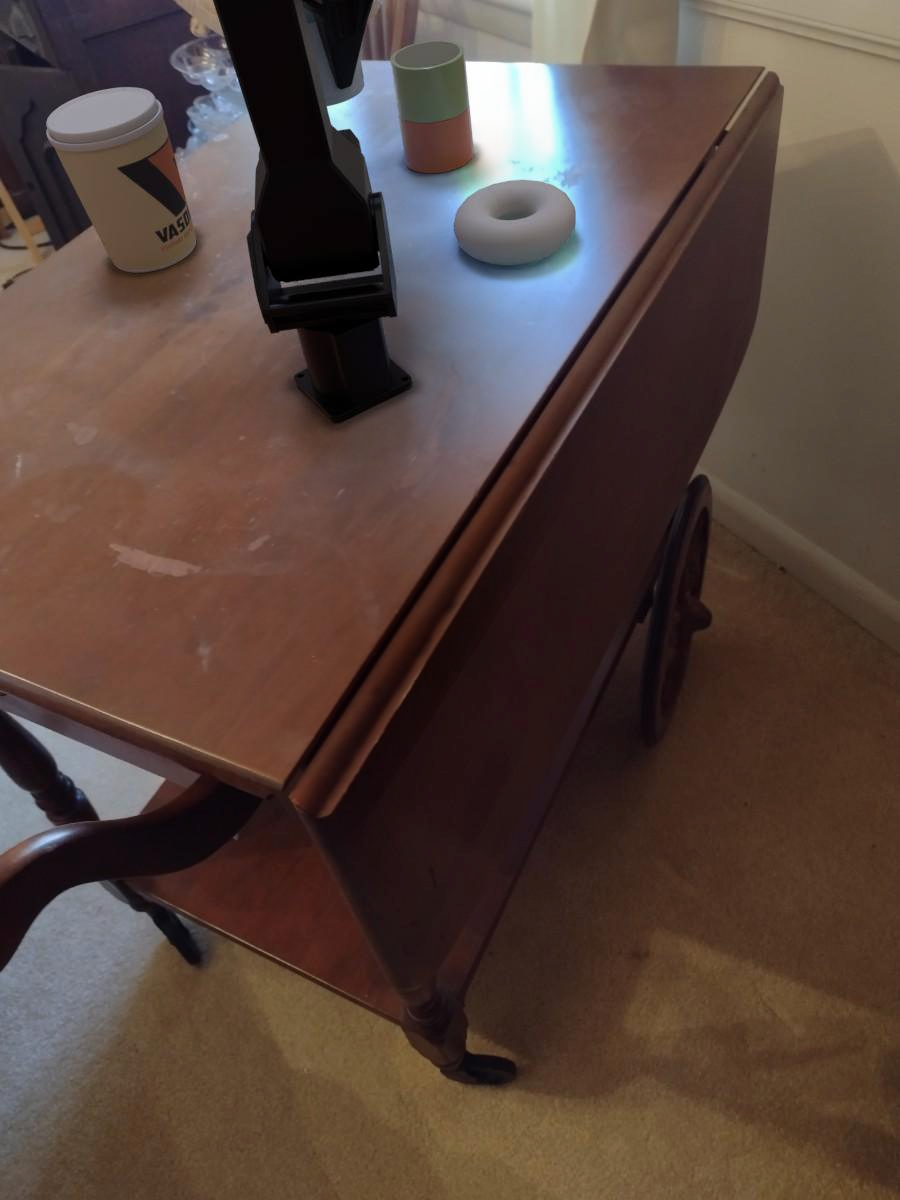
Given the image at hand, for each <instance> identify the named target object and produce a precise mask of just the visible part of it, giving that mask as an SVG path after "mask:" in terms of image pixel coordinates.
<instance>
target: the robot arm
mask: <svg viewBox="0 0 900 1200" xmlns="http://www.w3.org/2000/svg"><path fill="white" fill-rule="evenodd" d="M374 1H375V0H212V3H213V5H214V8H215V12H216V15H217V18H218V22H219V25H220V28H221V30H222V34H223V38H224V40H225V44H226V46H227V50H228V52H229V57H230V59H231V62H232V65H233V69H234V72H235V75H236V79H237V81H238V84H239V87H240V91H241V94H242V97H243V100H244V104H245V107H246V109H247V113H248V116H249V119H250V122H251V126H252V129H253V132H254V135H255V138H256V141H257V145H258V147H259V152H258V160H257V164H256V168H255V175H254V176H255V177H254V179H255V180H254V209H252V210H251V211H250V230H249V231H248V233H247V234H246V244H247V249H248V255H249V261H250V266H251V267H250V268H251V273H252V279H253V285H254V291H255V295H256V300H257V303H258V307H259V310H260V313H261V317H262V319H263V321H264V322H263V323H264V324H265V325H267V328H268V330H269V333H270V334H271V335H272V334H273V335H274V334H279V333H280V332H284V331H291V330H292V331H293V330H296V332H297V336H298V339H299V343H300V346H301V351H302V353H303V357H304V360H305V364H306V368H305V369H303V370H301V371H297V372H296V373H295V374H294V375H293V380H294V383H295V384H296V385H297V386H298V388H300V389H301V390H302V392H303V393H304V394H305V395H307V397H308V398H309V399H310V400H311V401H312V402H313V403H314V404H315V405H316V406H317V407H318V408H319V409H320V410H321V411H322V412H323V414H325V415H326V416H327V417H328V418H329V420H331V421H332V422H341V421H343V420H345V419H347V418H349V417H351V416H353V415H355V414H357V413H359V412H362V411H363V410H366V409H368V408H369V407H372V406H374V405H375V404H378V403H380V402H381V401H384V400H386V399H388V398H390V397H393V396H395V395H397V394H399V393H400V392H403V391H405V390H407V389H408V388H410V387H412V386H413V378H412V375H410V374H409V373H407V372H406V371H405V370H404V369H403V368H402V367H401V366H399V364H397V363H396V362H395V361H394V360H393V359H392V358H390V357H389V351H388V345H387V341H386V336H385V329H384V325H383V320H382V318H388V317H389V318H390V319H391V318H398V291H397V290H398V289H397V276H396V269H395V268H396V267H395V262H394V255H393V249H392V243H391V242H392V241H391V237H390V235H391V234H390V228H389V223H388V217H387V215H388V214H387V210H386V204H385V199H384V194H383V192H382V191H375V192H373V189H372V184H371V179H370V175H369V171H368V166H367V162H366V157H365V155H364V154H363V152H362V148H361V143H360V140H359V138H358V137H357V136H356V134H355V132H354V131H352V129H351V128H345V129H337V128H336V127H335V126H334V125H333V124H332V122H331V118H330V114H329V110H328V106H327V105H326V101H325V97H324V92H323V88H322V84H321V79H320V75H319V71H318V67H317V62H316V58H315V54H314V50H313V45H312V41H311V37H310V32H309V28H308V24H307V20H306V15H305V11H304V8H305V9H307V10H308V11H309V12H311V13H312V14H313V16H314V18H315V22H316V25H317V28H318V31H319V34H320V38H321V41H322V44H323V47H324V50H325V54H326V57H327V60H328V63H329V66H330V69H331V72H332V75H333V78H334V80H335V83H336V86H337V88H339V89H341V90H342V89H345V88H347V87H350V86H351V85H352V82H353V78H354V74H355V70H356V65H357V61H358V57H359V53H360V54H361V48H362V44H363V39H364V36H365V31H366V28H367V23H368V20H369V17H370V14H371V11H372V7H373V4H374ZM379 267H380V268H381V273H378V274H372V275H364V276H356V277H349V278H342V279H335V280H334V279H333V280H328V281H320V282H319V281H318V282H314V283H305V284H297V285H291V286H290V285H289V286H284V287H283V286H282V282H283V283H285V284H287V283H294V282H301V281H302V282H303V281H308V280H317V279H325V278H332V277H338V276H344V275H352V274H359V273H368V272H373V271H375V270H376V269H378V268H379Z"/></svg>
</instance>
